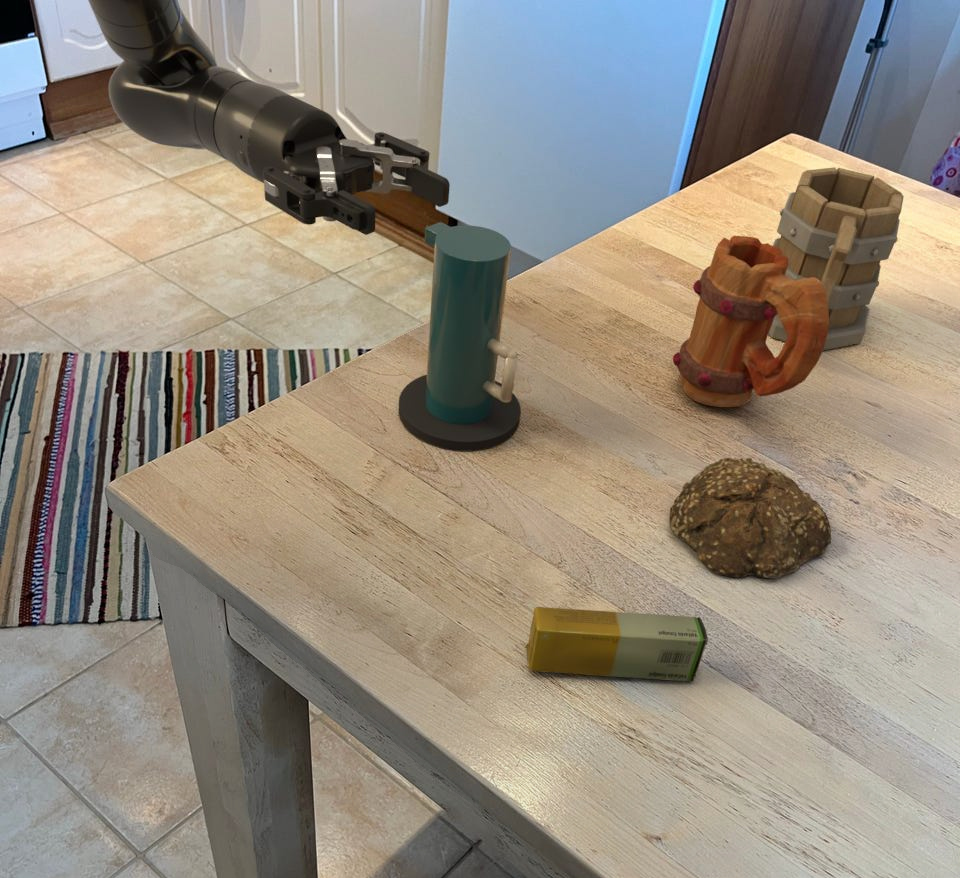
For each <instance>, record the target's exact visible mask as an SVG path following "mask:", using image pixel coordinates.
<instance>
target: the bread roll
mask: <svg viewBox="0 0 960 878" xmlns="http://www.w3.org/2000/svg"><path fill="white" fill-rule="evenodd" d="M668 519H669V520H668V521H669V529H670V531H671V533H672V534H673V535H674V536H676V537H677V538H679V539H680V540H682V541H683V542H684V543H686V544H688V545H690V546H691V547H692V548H693V549H694V550H695V552H696V553H697V555H698V558H699V560H700V562H701V563H702V564H703V565H704V566H705V567H706V568H707V569H708V570H709V571H710V572H712V573H714V574H716V575H721V576H726V577H730V578H737V579H739V578H743V577H746V576H748V575H753V576H756V577H760V578H766V579H775V578H780V577H782V576H783V575H788V574H793V573H794V572H795V571H797V570H799V569H800V566H802V565H803V563H804V562H807V561H808V560H810V559H818V558H820V557H822V556H823V555H825V554H826V551H825V548H826V547H828V546H829V545H831V543H832V528H831V524H830V521H829V520H830V519H829V517H828V515H827V513H826V512H825V511H824V509H823V507H821V505H820V504H819V503H818V502H817V501H816V500H814V498H813V497H812V496H811V494H810V493H809V492H805V491H803V490H802V489H801V488H800V487H799V484H797V483H796V482H795V480H793V479H792V478H791V477H789V476H787V475H786V474H785V472H781V470H780V471H779V470H778V469H775V468H773V467H772V468H769V467H767V466H766V464H765V463H764V462H757V461H754V460H753V459H752V457H746V458H745V459H744V458H742V457H741V458H735V457H734V458H732V457H725V458H721V459H719V460H718V461H715V462H713V463H712V464H711V463H710V464H709V465H707V466H705V467H704V469H701V471H700V472H698V473H696V474H695V476H693V477H692V479H691V480H690V481H689V482H685V483H684V484H683V486H682V490H681V492H680V493H679V494H678V496H677V497H676V498H675V499H674V501H673V504H672V505H671V506H670V508H669V518H668Z"/></svg>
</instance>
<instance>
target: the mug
mask: <svg viewBox="0 0 960 878" xmlns="http://www.w3.org/2000/svg"><path fill="white" fill-rule="evenodd" d="M787 267H788V258H787V257H786V256H785V255H782V251H781V250H780V249H779V248H778V247H776V246H773V244H770V243H768V242H767V243H762V242H761V241H760V239H759V238H757V237H753V236H747V235H746V236H744V235H733V236H731V237H730V239H728V238H726V237H723V238H722V239H721V240H720V241H719V242H718V243H717V245H716V247H715V251H714V253H713V256H712V260H711V263H710V265H709V266H707V267H706V268H705V269H704V270H703V272H702V273H701V276H700V279H697V280H696V281H694V283H693V285H692V289H693V292H694V293H695V294H696V295H698V296H699V299H698V302H697V305H696V310H695V315H694V319H693V324H692V327H691V331H690V334H689V337H688V338H687V339H686V340H684V341H683V342H682V344H681V345H680V348H679V351H678V352H676V353H674V354H673V356H672V362H673V365H674V366H676V368H677V370H678V372H679V376H678V377H679V380H678V381H679V384H680V385H681V388H682V390H683V391H684V393H685V394H686V396H687V397H689V398H691V399H692V400H693V401H694V402H697V403H700V404H701V405H706V406H709V407H716V408H722V407H723V408H733V407H740V406H743V405H745V404H747V403H748V402H749V401H750V400H751V398H752V396H753V392H754V393H755V394H756V396H758V397H760V398H761V397H767V396H773V395H777V394H781V393H784V392H786V391H789V390H792V389H794V388H795V387H796V386H798V385H799V384H801V383H803V382H804V381H806V380H807V378H808V377H809V375H810V374H811V372H812V371H813V369H814V368H815V367H816V366H817V364H818V361H819V359H820V357H821V355H822V353H823V351H824V350H823V349H824V346H825V341H826V337H827V334H828V324H829V313H828V303H827V296H826V290H825V288H824V286H823V284H822V283H821V282H820V281H819V280H818V279H817V278H815V277H811V278H803V279H800V280H795V281H794V280H792V279H790V278H788V277H786V276H785V274H786V270H787ZM777 314H778V315H779V318H780V320H781V323H782V325H783V327H784V329H785V331H786V334H787V340H786V342H785V341H784V344H783V346H782V347H781V350H780V352H779V353H778V355H777V356H776V357H775V356H774V354H773V353H772V351H771V350H770V348H769V346H768V345H767V344H766V343H767V339H768V336H769V334H768V333H769V331H770V328H771V326H772V323H773V320H774V317H775V316H776V315H777Z"/></svg>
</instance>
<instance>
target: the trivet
mask: <svg viewBox="0 0 960 878" xmlns="http://www.w3.org/2000/svg"><path fill="white" fill-rule="evenodd" d="M426 379H427V374H424V375H421V376H419V377H416V378H415V379H412V381H410V382H409V383H407V384H406V385H405V386H404V388H403V389H402V391H401V392H400V395H399V397H398V409H397V410H398V417H399V419H400V422H401V424H402V425H403V427H404V428H405V430H406V431H408V432H409V433H410V434H411V435H412V436H414V437H415V438H417V439H418V440H420V441H422V442H424V443H425V444H428V445H431V446H433V447H437V448H441V449H443V450H444V449H445V450H451V451H458V452H473V451H475V452H476V451H481V450H486V449H491V448H494V447H496V446H499V445H501V444H503V443H505V442H506V441H508V440H510V438H512V436H514V434H515V433H516V432H517V430H518V428H519V427H520V426H519V425H520V421H521V414H522V412H521V411H522V410H521V409H522V407H521V404H520V401H519V399H518V397H517V396H516V395H515V394H514V393H512V399H511V401H510V402H508V403H504V402H502V401H500V400H499V399H497V398H495V397H493V401H492V409H491V412H490V414H489V415H488V416H487V417H486V418H484V419H483V420H481V421H479V422H476V423H471V424H453V423H449V422H445V421H442V420H440V419H438V418H436V417H434V416H433V415H432V414H431V413H430V412H429V411H428V410H427V408H426V405H425V395H426ZM495 384H497V385H498V386H500V387H501V386H502V382H499V381H498V380H496V379H495Z"/></svg>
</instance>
